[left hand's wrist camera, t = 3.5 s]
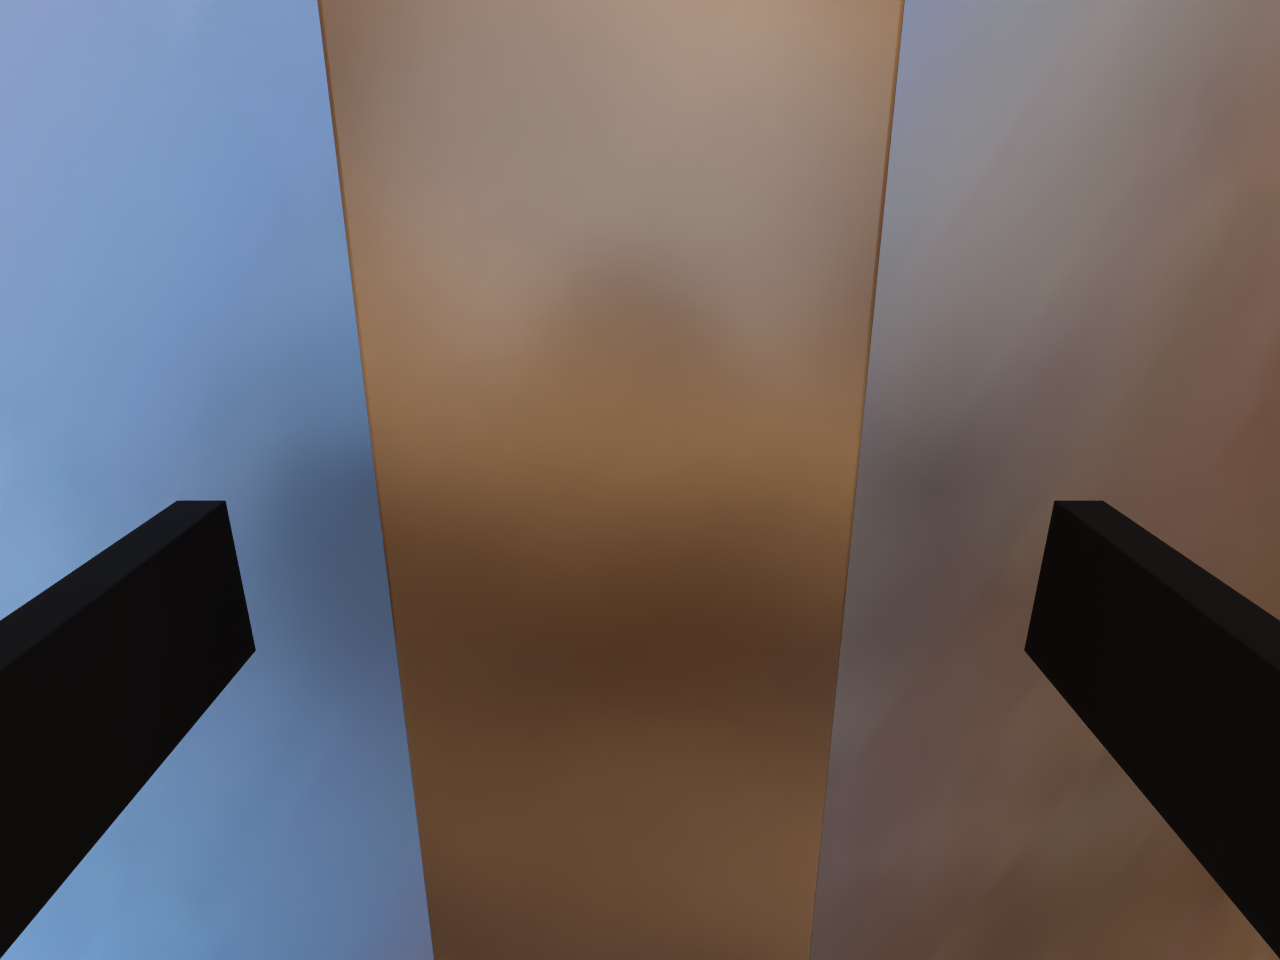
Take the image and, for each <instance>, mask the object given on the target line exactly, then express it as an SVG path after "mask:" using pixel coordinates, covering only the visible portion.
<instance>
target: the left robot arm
mask: <svg viewBox="0 0 1280 960" xmlns="http://www.w3.org/2000/svg"><path fill="white" fill-rule="evenodd" d="M255 651H256V650H255V645H254V640H253V635H252V630H251V625H250V620H249V615H248V610H247V605H246V600H245V595H244V590H243V585H242V580H241V575H240V570H239V565H238V560H237V555H236V550H235V545H234V540H233V535H232V530H231V526H230V521H229V516H228V511H227V506H226V501H176V502H174V503H173V504H172V505H170V506H169V507H167V508H166V509H164V510H163V511H161V512H160V513H158V514H157V515H155V516H154V517H152V518H151V519H149V520H148V521H147V522H145V523H144V524H142V525H141V526H139V527H138V528H136V529H135V530H133V531H132V532H130V533H129V534H127V535H126V536H124V537H123V538H121V539H120V540H119V541H117V542H116V543H114V544H113V545H111V546H110V547H108V548H107V549H105V550H104V551H102V552H101V553H99V554H98V555H96V556H95V557H93V558H92V559H91V560H89V561H88V562H86V563H85V564H83V565H82V566H80V567H79V568H77V569H76V570H74V571H73V572H71V573H70V574H68V575H67V576H65V577H64V578H63V579H61V580H60V581H58V582H57V583H55V584H54V585H52V586H51V587H49V588H48V589H46V590H45V591H43V592H42V593H40V594H39V595H37V596H36V597H35V598H33V599H32V600H30V601H29V602H27V603H26V604H24V605H23V606H21V607H20V608H18V609H17V610H15V611H14V612H12V613H11V614H10V615H8V616H7V617H5V618H4V619H2V620H1V621H0V958H1V957H2V956H3V955H4V953H5V952H6V951H7V950H8V949H9V947H10V946H11V945H12V944H13V943H14V941H15V940H16V939H17V938H18V937H19V935H20V934H21V933H22V932H23V931H24V929H25V928H26V927H27V926H28V925H29V923H30V922H31V921H32V920H33V918H34V917H35V916H36V915H37V914H38V912H39V911H40V910H41V909H42V908H43V906H44V905H45V904H46V903H47V902H48V900H49V899H50V898H51V897H52V896H53V894H54V893H55V892H56V891H57V890H58V888H59V887H60V886H61V885H62V883H63V882H64V881H65V880H66V879H67V877H68V876H69V875H70V874H71V873H72V871H73V870H74V869H75V868H76V867H77V865H78V864H79V863H80V862H81V861H82V859H83V858H84V857H85V856H86V855H87V853H88V852H89V851H90V850H91V848H92V847H93V846H94V845H95V844H96V842H97V841H98V840H99V839H100V838H101V836H102V835H103V834H104V833H105V832H106V830H107V829H108V828H109V827H110V826H111V824H112V823H113V822H114V821H115V820H116V818H117V817H118V816H119V815H120V813H121V812H122V811H123V810H124V809H125V807H126V806H127V805H128V804H129V803H130V801H131V800H132V799H133V798H134V797H135V795H136V794H137V793H138V792H139V791H140V789H141V788H142V787H143V786H144V785H145V783H146V782H147V781H148V780H149V778H150V777H151V776H152V775H153V774H154V772H155V771H156V770H157V769H158V768H159V766H160V765H161V764H162V763H163V762H164V760H165V759H166V758H167V757H168V756H169V754H170V753H171V752H172V751H173V750H174V748H175V747H176V746H177V745H178V743H179V742H180V741H181V740H182V739H183V737H184V736H185V735H186V734H187V733H188V731H189V730H190V729H191V728H192V727H193V725H194V724H195V723H196V722H197V721H198V719H199V718H200V717H201V716H202V715H203V713H204V712H205V711H206V710H207V708H208V707H209V706H210V705H211V704H212V702H213V701H214V700H215V699H216V698H217V696H218V695H219V694H220V693H221V692H222V690H223V689H224V688H225V687H226V686H227V684H228V683H229V682H230V681H231V680H232V678H233V677H234V676H235V675H236V673H237V672H238V671H239V670H240V669H241V667H242V666H243V665H244V664H245V663H246V661H247V660H248V659H249V658H250V657H251V655H252V654H253V653H254V652H255ZM1024 651H1025V652H1026V653H1027V654H1028V655H1029V657H1030V658H1031V659H1032V660H1033V661H1034V663H1035V664H1036V665H1037V666H1038V667H1039V669H1040V670H1041V671H1042V672H1043V673H1044V675H1045V676H1046V677H1047V678H1048V680H1049V681H1050V682H1051V683H1052V684H1053V686H1054V687H1055V688H1056V689H1057V690H1058V692H1059V693H1060V694H1061V695H1062V696H1063V698H1064V699H1065V700H1066V701H1067V702H1068V704H1069V705H1070V706H1071V707H1072V708H1073V710H1074V711H1075V712H1076V713H1077V715H1078V716H1079V717H1080V718H1081V719H1082V721H1083V722H1084V723H1085V724H1086V725H1087V727H1088V728H1089V729H1090V730H1091V731H1092V733H1093V734H1094V735H1095V736H1096V737H1097V739H1098V740H1099V741H1100V742H1101V743H1102V745H1103V746H1104V747H1105V748H1106V750H1107V751H1108V752H1109V753H1110V754H1111V756H1112V757H1113V758H1114V759H1115V760H1116V762H1117V763H1118V764H1119V765H1120V766H1121V768H1122V769H1123V770H1124V771H1125V772H1126V774H1127V775H1128V776H1129V777H1130V778H1131V780H1132V781H1133V782H1134V783H1135V785H1136V786H1137V787H1138V788H1139V789H1140V791H1141V792H1142V793H1143V794H1144V795H1145V797H1146V798H1147V799H1148V800H1149V801H1150V803H1151V804H1152V805H1153V806H1154V807H1155V809H1156V810H1157V811H1158V812H1159V813H1160V815H1161V816H1162V817H1163V818H1164V820H1165V821H1166V822H1167V823H1168V824H1169V826H1170V827H1171V828H1172V829H1173V830H1174V832H1175V833H1176V834H1177V835H1178V836H1179V838H1180V839H1181V840H1182V841H1183V842H1184V844H1185V845H1186V846H1187V847H1188V848H1189V850H1190V851H1191V852H1192V853H1193V855H1194V856H1195V857H1196V858H1197V859H1198V861H1199V862H1200V863H1201V864H1202V865H1203V867H1204V868H1205V869H1206V870H1207V871H1208V873H1209V874H1210V875H1211V876H1212V877H1213V879H1214V880H1215V881H1216V882H1217V883H1218V885H1219V886H1220V887H1221V888H1222V890H1223V891H1224V892H1225V893H1226V894H1227V896H1228V897H1229V898H1230V899H1231V900H1232V902H1233V903H1234V904H1235V905H1236V906H1237V908H1238V909H1239V910H1240V911H1241V912H1242V914H1243V915H1244V916H1245V917H1246V918H1247V920H1248V921H1249V922H1250V923H1251V925H1252V926H1253V927H1254V928H1255V929H1256V931H1257V932H1258V933H1259V934H1260V935H1261V937H1262V938H1263V939H1264V940H1265V941H1266V943H1267V944H1268V945H1269V946H1270V947H1271V949H1272V950H1273V951H1274V952H1275V953H1276V955H1277V956H1278V957H1279V958H1280V621H1279V620H1278V619H1276V618H1275V617H1273V616H1272V615H1270V614H1269V613H1268V612H1266V611H1265V610H1263V609H1262V608H1260V607H1259V606H1257V605H1256V604H1254V603H1253V602H1251V601H1250V600H1248V599H1247V598H1245V597H1244V596H1243V595H1241V594H1240V593H1238V592H1237V591H1235V590H1234V589H1232V588H1231V587H1229V586H1228V585H1226V584H1225V583H1223V582H1222V581H1220V580H1219V579H1217V578H1216V577H1215V576H1213V575H1212V574H1210V573H1209V572H1207V571H1206V570H1204V569H1203V568H1201V567H1200V566H1198V565H1197V564H1195V563H1194V562H1192V561H1191V560H1189V559H1188V558H1187V557H1185V556H1184V555H1182V554H1181V553H1179V552H1178V551H1176V550H1175V549H1173V548H1172V547H1170V546H1169V545H1167V544H1166V543H1164V542H1163V541H1161V540H1160V539H1159V538H1157V537H1156V536H1154V535H1153V534H1151V533H1150V532H1148V531H1147V530H1145V529H1144V528H1142V527H1141V526H1139V525H1138V524H1136V523H1135V522H1133V521H1132V520H1131V519H1129V518H1128V517H1126V516H1125V515H1123V514H1122V513H1120V512H1119V511H1117V510H1116V509H1114V508H1113V507H1111V506H1110V505H1108V504H1107V503H1106V502H1104V501H1054V506H1053V511H1052V516H1051V521H1050V526H1049V530H1048V535H1047V540H1046V545H1045V550H1044V555H1043V560H1042V565H1041V570H1040V575H1039V580H1038V585H1037V590H1036V595H1035V600H1034V605H1033V610H1032V615H1031V620H1030V625H1029V630H1028V635H1027V640H1026V645H1025V650H1024Z"/></svg>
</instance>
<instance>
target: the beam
mask: <svg viewBox="0 0 1280 960" xmlns="http://www.w3.org/2000/svg"><path fill="white" fill-rule="evenodd" d="M317 1H318V9H319V17H320V26H321V34H322V42H323V50H324V59H325V67H326V75H327V83H328V91H329V100H330V108H331V116H332V124H333V133H334V141H335V149H336V157H337V165H338V174H339V182H340V190H341V198H342V207H343V215H344V223H345V231H346V239H347V248H348V256H349V264H350V272H351V281H352V289H353V297H354V305H355V314H356V322H357V330H358V338H359V346H360V355H361V363H362V371H363V379H364V388H365V396H366V404H367V412H368V420H369V429H370V437H371V445H372V453H373V462H374V470H375V478H376V486H377V494H378V503H379V511H380V519H381V527H382V536H383V544H384V552H385V560H386V569H387V577H388V585H389V593H390V601H391V610H392V618H393V626H394V634H395V643H396V651H397V659H398V667H399V675H400V684H401V692H402V700H403V708H404V717H405V725H406V733H407V741H408V749H409V758H410V766H411V774H412V782H413V791H414V799H415V807H416V815H417V824H418V832H419V840H420V848H421V856H422V865H423V873H424V881H425V889H426V898H427V906H428V914H429V922H430V930H431V939H432V947H433V955H434V960H809V956H810V946H811V936H812V926H813V916H814V906H815V896H816V886H817V876H818V866H819V856H820V846H821V836H822V825H823V815H824V805H825V795H826V785H827V775H828V765H829V755H830V745H831V735H832V725H833V715H834V705H835V695H836V685H837V675H838V665H839V655H840V645H841V635H842V625H843V615H844V605H845V595H846V585H847V575H848V565H849V554H850V544H851V534H852V524H853V514H854V504H855V494H856V484H857V474H858V464H859V454H860V444H861V434H862V424H863V414H864V404H865V394H866V384H867V374H868V364H869V354H870V344H871V334H872V324H873V314H874V304H875V293H876V283H877V273H878V263H879V253H880V243H881V233H882V223H883V213H884V203H885V193H886V183H887V173H888V163H889V153H890V143H891V133H892V123H893V113H894V103H895V93H896V83H897V73H898V63H899V53H900V43H901V32H902V22H903V12H904V2H905V0H317Z"/></svg>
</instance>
